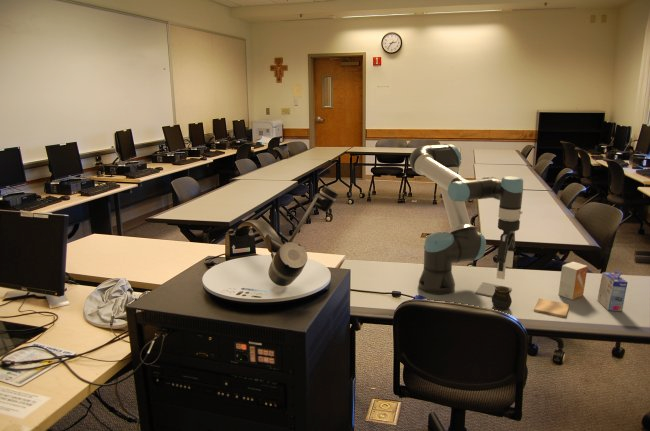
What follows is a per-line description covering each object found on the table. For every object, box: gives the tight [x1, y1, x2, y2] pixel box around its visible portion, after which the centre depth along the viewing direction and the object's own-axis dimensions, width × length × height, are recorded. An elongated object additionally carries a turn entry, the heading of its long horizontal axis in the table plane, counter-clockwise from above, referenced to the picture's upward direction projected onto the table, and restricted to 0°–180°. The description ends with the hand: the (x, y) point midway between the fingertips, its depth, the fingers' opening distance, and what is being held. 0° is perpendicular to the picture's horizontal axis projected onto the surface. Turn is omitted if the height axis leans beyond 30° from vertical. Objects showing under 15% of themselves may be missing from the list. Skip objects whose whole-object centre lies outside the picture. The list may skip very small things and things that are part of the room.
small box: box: [558, 261, 588, 301], centre depth 195 cm, size 8×6×13 cm
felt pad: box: [475, 282, 512, 298], centre depth 201 cm, size 12×12×1 cm
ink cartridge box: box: [597, 269, 628, 312], centre depth 185 cm, size 10×6×14 cm, turn 174°
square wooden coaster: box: [533, 298, 570, 319], centre depth 186 cm, size 11×11×1 cm
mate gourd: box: [491, 285, 513, 311], centre depth 186 cm, size 7×8×10 cm
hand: (504, 272), depth 183 cm, fingers open, 13 cm apart
